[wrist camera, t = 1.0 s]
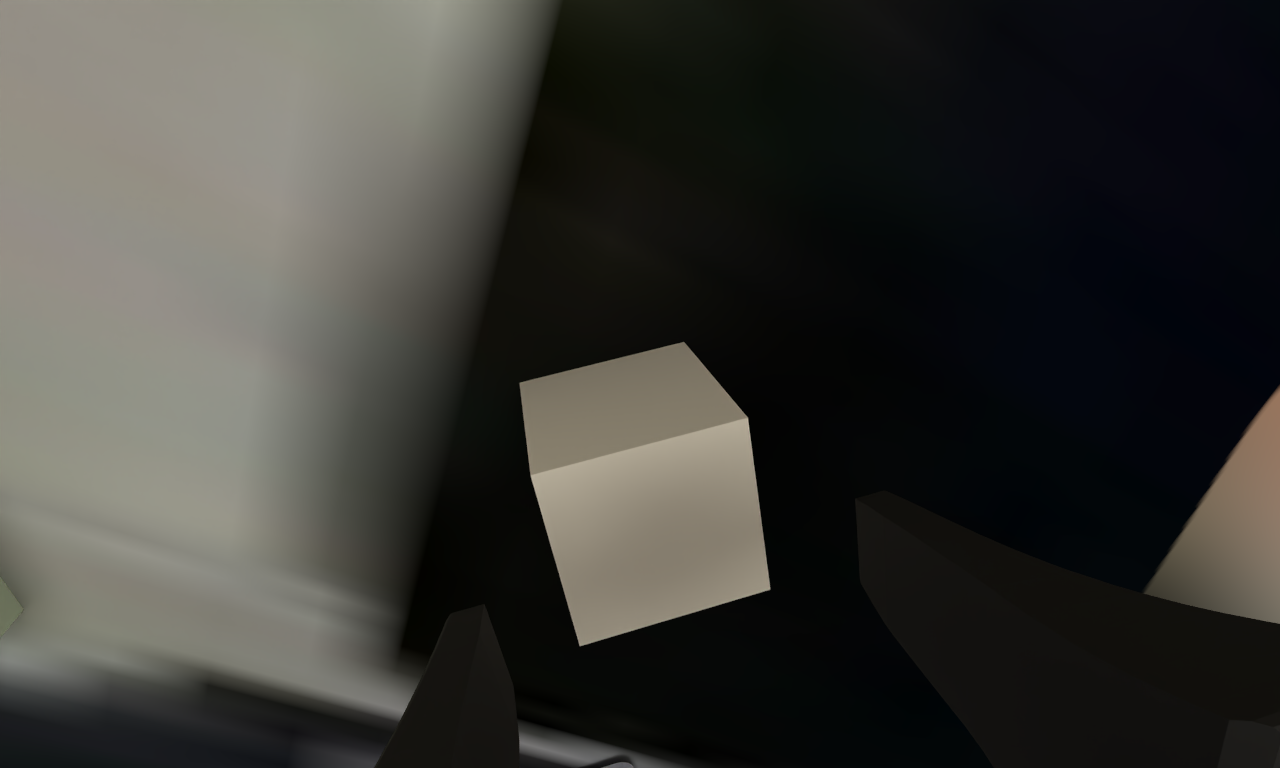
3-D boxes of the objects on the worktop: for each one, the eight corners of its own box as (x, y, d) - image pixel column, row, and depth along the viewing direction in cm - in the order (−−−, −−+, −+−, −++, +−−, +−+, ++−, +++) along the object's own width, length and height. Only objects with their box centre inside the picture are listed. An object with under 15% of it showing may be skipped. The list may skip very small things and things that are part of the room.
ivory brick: (706, 481, 20) (770, 589, 16) (558, 522, 20) (579, 646, 15) (683, 340, 18) (747, 417, 14) (519, 382, 18) (530, 475, 13)
